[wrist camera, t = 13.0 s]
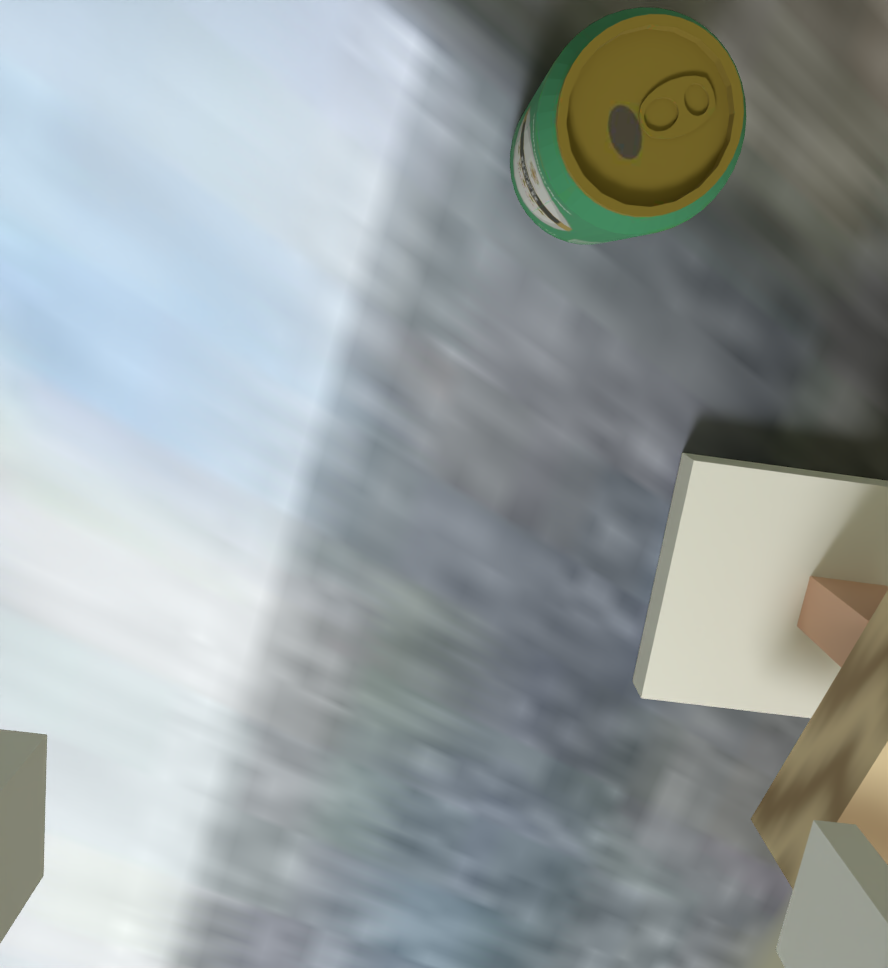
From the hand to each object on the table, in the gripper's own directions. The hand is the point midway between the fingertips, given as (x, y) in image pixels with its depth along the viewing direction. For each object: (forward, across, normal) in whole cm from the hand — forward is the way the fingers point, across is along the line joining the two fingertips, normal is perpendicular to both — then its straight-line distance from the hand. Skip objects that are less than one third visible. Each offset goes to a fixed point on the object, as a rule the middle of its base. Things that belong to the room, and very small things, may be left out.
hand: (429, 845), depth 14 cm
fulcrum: (+32, +24, -5) cm, 40 cm away
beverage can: (+32, +6, +16) cm, 36 cm away
